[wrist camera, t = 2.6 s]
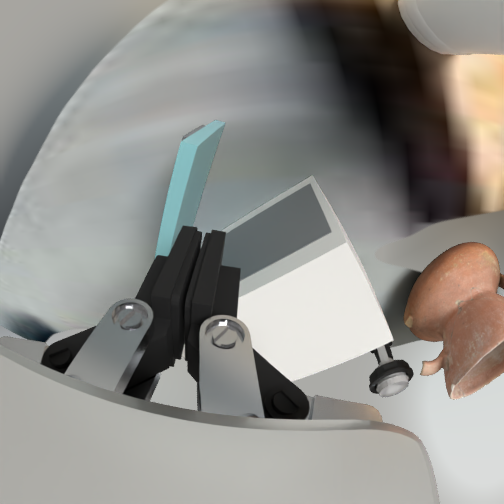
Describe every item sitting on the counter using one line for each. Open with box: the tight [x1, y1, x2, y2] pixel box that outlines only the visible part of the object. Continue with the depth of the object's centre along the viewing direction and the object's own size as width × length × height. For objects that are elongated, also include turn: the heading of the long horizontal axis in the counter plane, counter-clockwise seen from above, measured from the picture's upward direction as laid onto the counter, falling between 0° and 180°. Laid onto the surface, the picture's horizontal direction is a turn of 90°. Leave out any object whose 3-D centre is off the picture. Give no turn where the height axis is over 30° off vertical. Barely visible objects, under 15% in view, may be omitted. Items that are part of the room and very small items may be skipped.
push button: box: [369, 341, 413, 397], centre depth 28 cm, size 7×5×10 cm
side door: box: [155, 120, 225, 258], centre depth 19 cm, size 14×1×10 cm, turn 160°
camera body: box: [182, 175, 394, 382], centre depth 22 cm, size 16×10×12 cm, turn 125°
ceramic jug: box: [404, 242, 504, 400], centre depth 22 cm, size 18×14×14 cm
